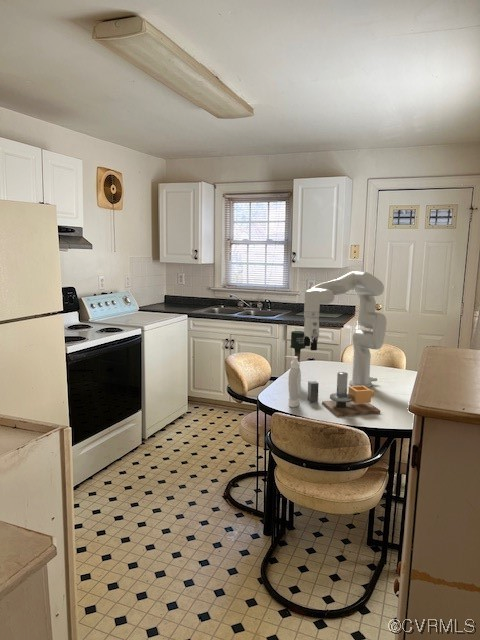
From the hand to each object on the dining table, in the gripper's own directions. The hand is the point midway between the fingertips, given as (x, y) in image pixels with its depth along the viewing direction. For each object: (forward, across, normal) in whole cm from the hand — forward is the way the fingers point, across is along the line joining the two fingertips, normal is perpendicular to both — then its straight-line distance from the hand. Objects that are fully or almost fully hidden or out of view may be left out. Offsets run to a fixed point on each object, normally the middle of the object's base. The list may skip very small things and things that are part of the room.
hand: (310, 348), depth 239 cm
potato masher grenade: (+27, +29, -4) cm, 40 cm away
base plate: (+27, -16, -16) cm, 35 cm away
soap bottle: (+27, -5, +10) cm, 30 cm away
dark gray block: (+27, -3, -1) cm, 27 cm away
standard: (+25, -17, -11) cm, 32 cm away
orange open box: (+23, -16, -22) cm, 36 cm away
